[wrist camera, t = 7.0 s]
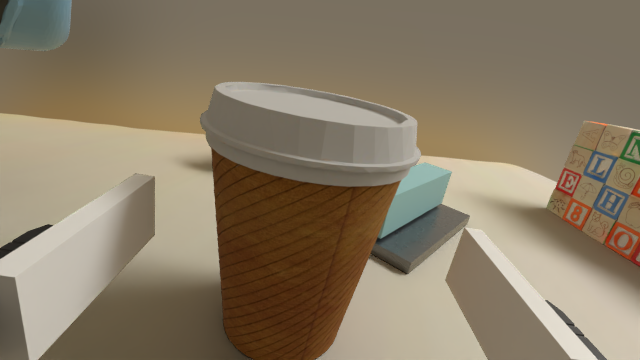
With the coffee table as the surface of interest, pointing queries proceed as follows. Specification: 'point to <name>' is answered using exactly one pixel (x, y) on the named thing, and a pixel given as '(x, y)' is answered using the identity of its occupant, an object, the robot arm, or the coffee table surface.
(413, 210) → the bar
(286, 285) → the disposable coffee cup
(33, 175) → the coffee table surface
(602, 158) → the stack of blocks
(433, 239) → the base
